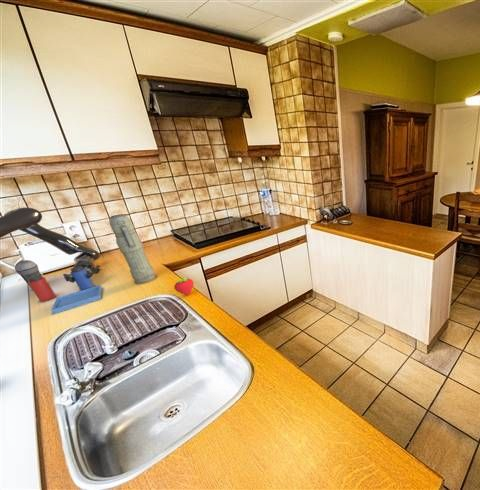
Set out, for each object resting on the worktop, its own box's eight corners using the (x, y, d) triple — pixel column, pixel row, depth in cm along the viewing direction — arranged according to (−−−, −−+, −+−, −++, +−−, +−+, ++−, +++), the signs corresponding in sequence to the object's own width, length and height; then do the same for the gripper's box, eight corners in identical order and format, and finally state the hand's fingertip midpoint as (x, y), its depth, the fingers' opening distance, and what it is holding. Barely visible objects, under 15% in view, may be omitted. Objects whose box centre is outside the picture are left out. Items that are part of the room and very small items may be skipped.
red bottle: (39, 303, 123) (24, 281, 118) (41, 298, 127) (27, 277, 122) (55, 298, 126) (41, 276, 121) (57, 294, 130) (43, 273, 125)
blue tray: (53, 314, 115) (51, 310, 114) (58, 301, 124) (56, 297, 123) (100, 299, 123) (98, 295, 123) (102, 288, 133) (100, 285, 132)
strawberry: (176, 296, 122) (169, 277, 118) (194, 288, 127) (188, 270, 123) (180, 300, 119) (172, 281, 115) (198, 293, 124) (192, 274, 120)
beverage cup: (25, 290, 135) (2, 255, 127) (45, 283, 142) (24, 249, 134) (32, 292, 133) (8, 256, 125) (52, 285, 139) (31, 250, 131)
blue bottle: (80, 292, 130) (67, 271, 125) (81, 288, 134) (69, 267, 129) (94, 288, 133) (83, 267, 128) (95, 284, 137) (84, 264, 132)
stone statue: (140, 286, 133) (109, 219, 119) (131, 280, 139) (100, 216, 125) (160, 278, 139) (133, 214, 125) (150, 273, 145) (124, 211, 131)
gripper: (61, 265, 135) (55, 277, 123) (99, 256, 143) (97, 266, 131) (68, 278, 138) (63, 291, 126) (105, 268, 146) (103, 279, 134)
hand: (80, 278), depth 129 cm, fingers closed on blue bottle, 5 cm apart
